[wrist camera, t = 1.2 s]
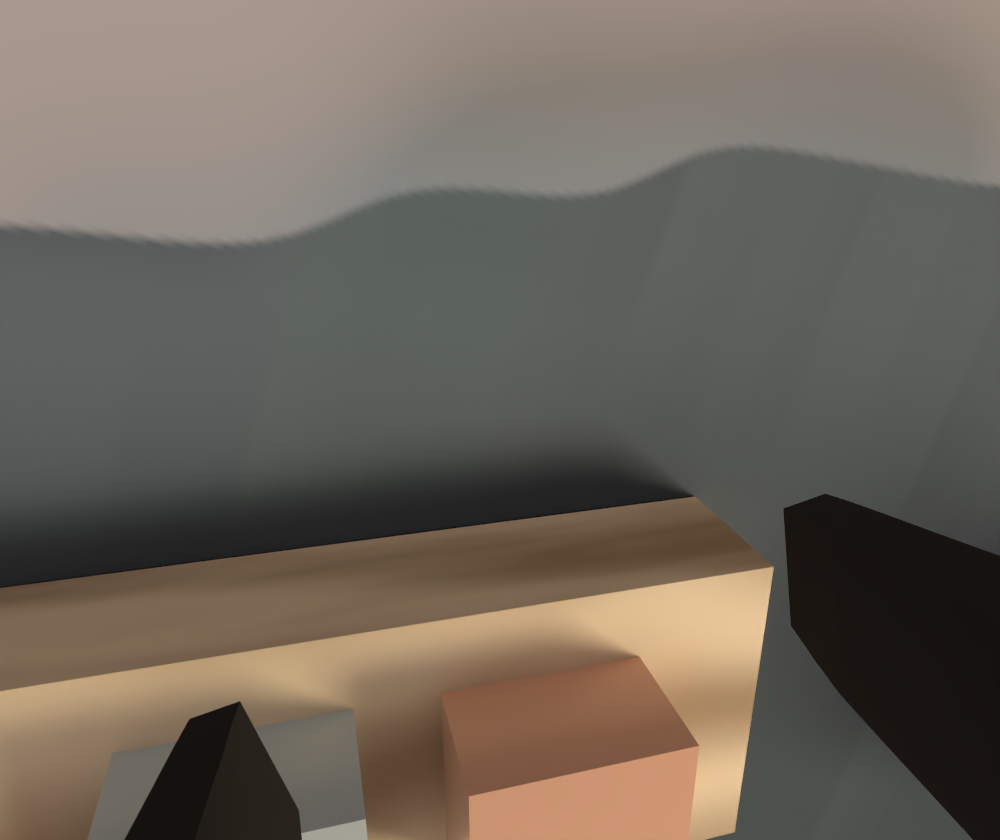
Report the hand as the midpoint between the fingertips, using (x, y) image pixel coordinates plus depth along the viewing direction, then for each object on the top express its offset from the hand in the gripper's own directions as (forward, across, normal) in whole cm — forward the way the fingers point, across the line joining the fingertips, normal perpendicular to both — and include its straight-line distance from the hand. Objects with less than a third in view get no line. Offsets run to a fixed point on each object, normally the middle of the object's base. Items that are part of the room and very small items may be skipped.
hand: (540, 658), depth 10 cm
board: (+10, +6, +8) cm, 14 cm away
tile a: (+6, 0, +9) cm, 11 cm away
